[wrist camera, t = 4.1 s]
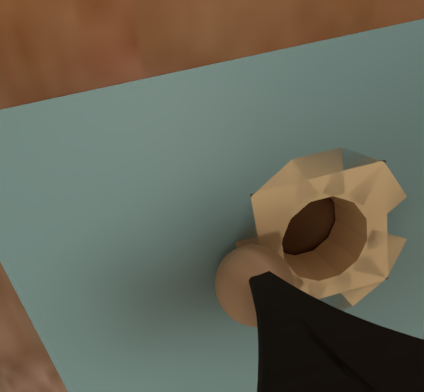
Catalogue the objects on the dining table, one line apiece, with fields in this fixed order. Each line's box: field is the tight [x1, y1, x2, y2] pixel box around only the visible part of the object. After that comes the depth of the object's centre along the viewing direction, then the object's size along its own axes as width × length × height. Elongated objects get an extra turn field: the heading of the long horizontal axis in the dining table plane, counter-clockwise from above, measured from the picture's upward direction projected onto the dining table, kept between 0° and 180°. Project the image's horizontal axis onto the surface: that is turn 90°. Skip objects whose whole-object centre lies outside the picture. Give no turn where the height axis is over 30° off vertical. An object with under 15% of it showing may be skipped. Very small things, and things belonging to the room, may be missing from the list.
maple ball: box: [215, 245, 294, 327], centre depth 10 cm, size 3×3×3 cm
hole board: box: [0, 19, 424, 392], centre depth 13 cm, size 18×16×2 cm
